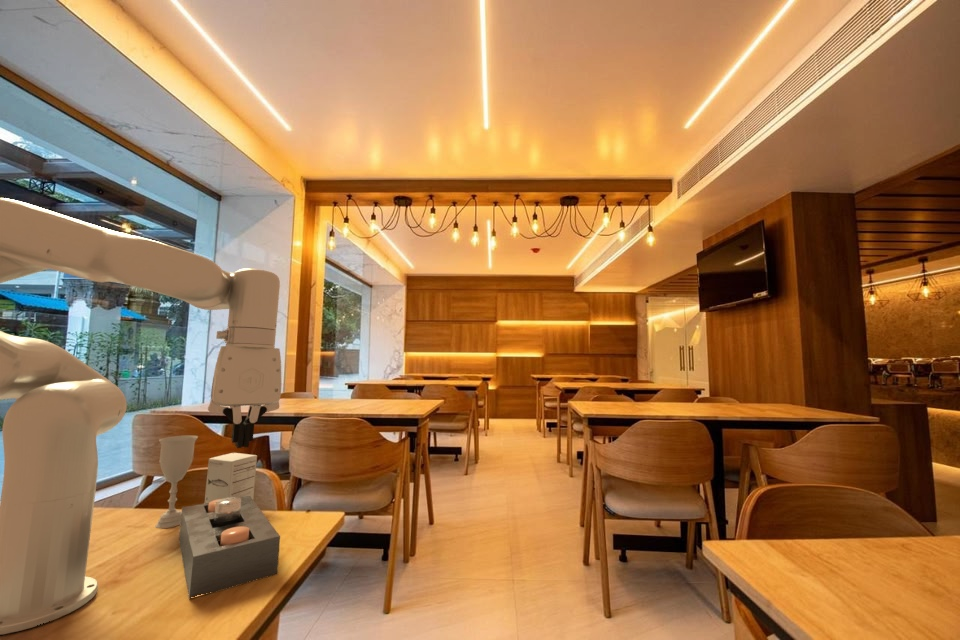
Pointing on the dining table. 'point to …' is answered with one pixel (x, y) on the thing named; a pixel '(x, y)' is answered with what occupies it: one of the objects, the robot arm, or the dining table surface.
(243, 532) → the near knob
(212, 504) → the far knob
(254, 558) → the knob housing
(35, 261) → the robot arm
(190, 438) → the chalice
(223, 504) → the middle knob
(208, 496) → the supplement box
